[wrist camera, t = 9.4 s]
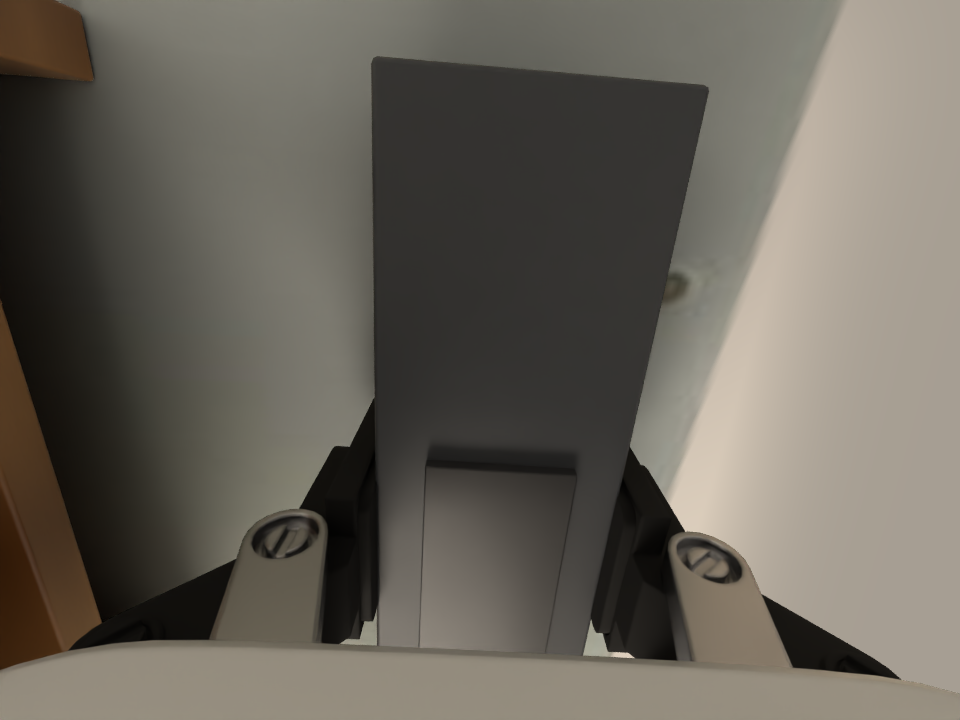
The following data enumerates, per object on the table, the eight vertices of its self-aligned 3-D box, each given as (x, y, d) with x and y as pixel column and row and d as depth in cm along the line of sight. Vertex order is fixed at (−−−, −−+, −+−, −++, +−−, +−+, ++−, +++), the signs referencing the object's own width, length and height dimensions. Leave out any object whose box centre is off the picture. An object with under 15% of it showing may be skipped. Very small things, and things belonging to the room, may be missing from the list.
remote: (409, 103, 9) (364, 47, 5) (626, 121, 9) (725, 79, 6) (400, 658, 15) (375, 812, 11) (534, 664, 15) (552, 819, 11)
